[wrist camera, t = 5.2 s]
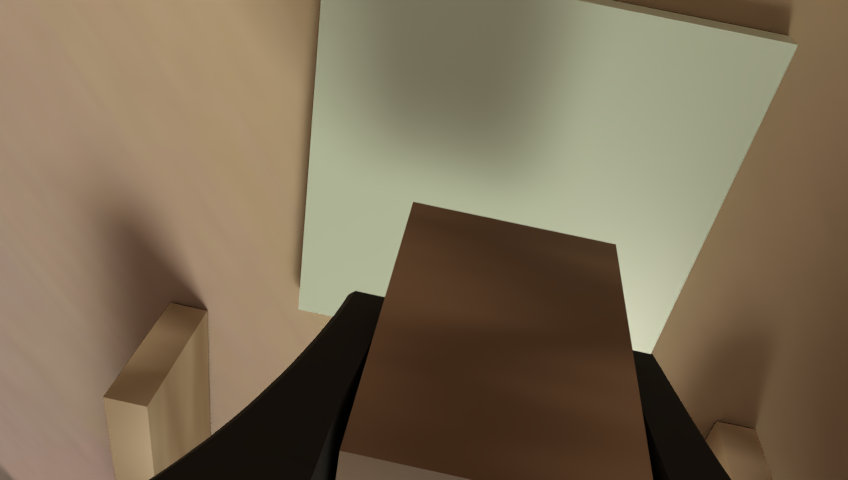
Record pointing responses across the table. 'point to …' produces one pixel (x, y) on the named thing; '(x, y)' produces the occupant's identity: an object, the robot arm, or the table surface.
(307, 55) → the table surface
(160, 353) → the corral
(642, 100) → the pad
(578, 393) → the walnut block
